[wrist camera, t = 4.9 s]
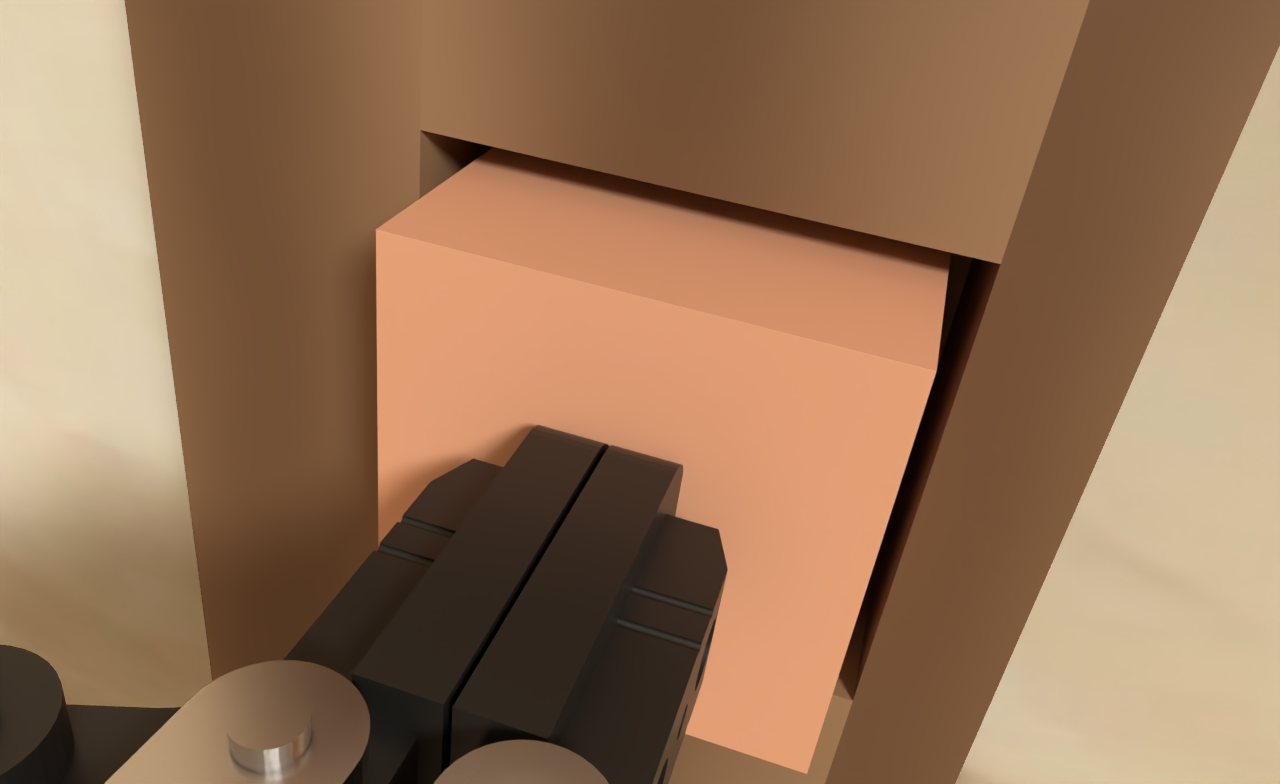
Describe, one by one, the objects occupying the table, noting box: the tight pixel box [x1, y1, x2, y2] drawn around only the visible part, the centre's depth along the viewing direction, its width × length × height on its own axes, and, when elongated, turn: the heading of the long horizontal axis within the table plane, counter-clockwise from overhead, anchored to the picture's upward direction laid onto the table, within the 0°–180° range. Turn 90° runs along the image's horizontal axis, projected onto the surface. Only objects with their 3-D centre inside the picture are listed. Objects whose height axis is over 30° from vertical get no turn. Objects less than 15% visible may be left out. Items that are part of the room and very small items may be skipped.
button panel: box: [125, 0, 1280, 784], centre depth 14 cm, size 11×30×4 cm, turn 172°
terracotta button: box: [376, 147, 951, 774], centre depth 12 cm, size 5×5×4 cm
